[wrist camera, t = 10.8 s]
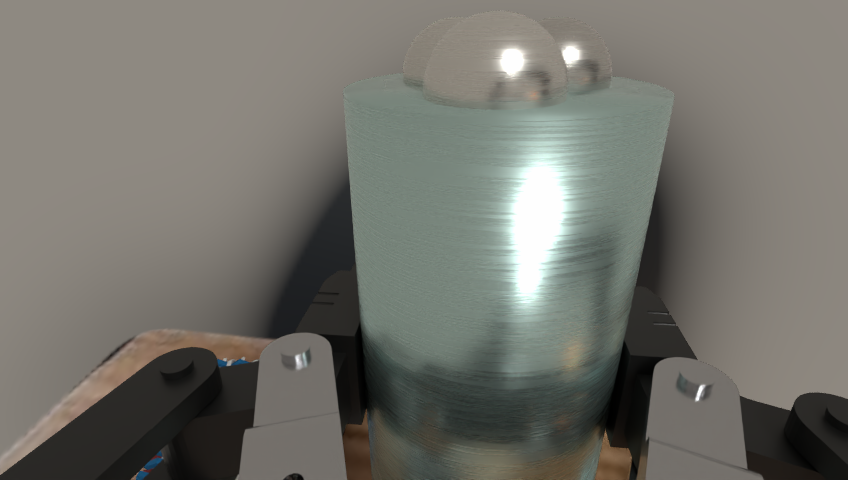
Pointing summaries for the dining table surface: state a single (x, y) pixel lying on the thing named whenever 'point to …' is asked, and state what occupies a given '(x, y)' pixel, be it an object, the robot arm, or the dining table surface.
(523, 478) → the teal cylinder
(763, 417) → the robot arm
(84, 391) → the dining table surface
